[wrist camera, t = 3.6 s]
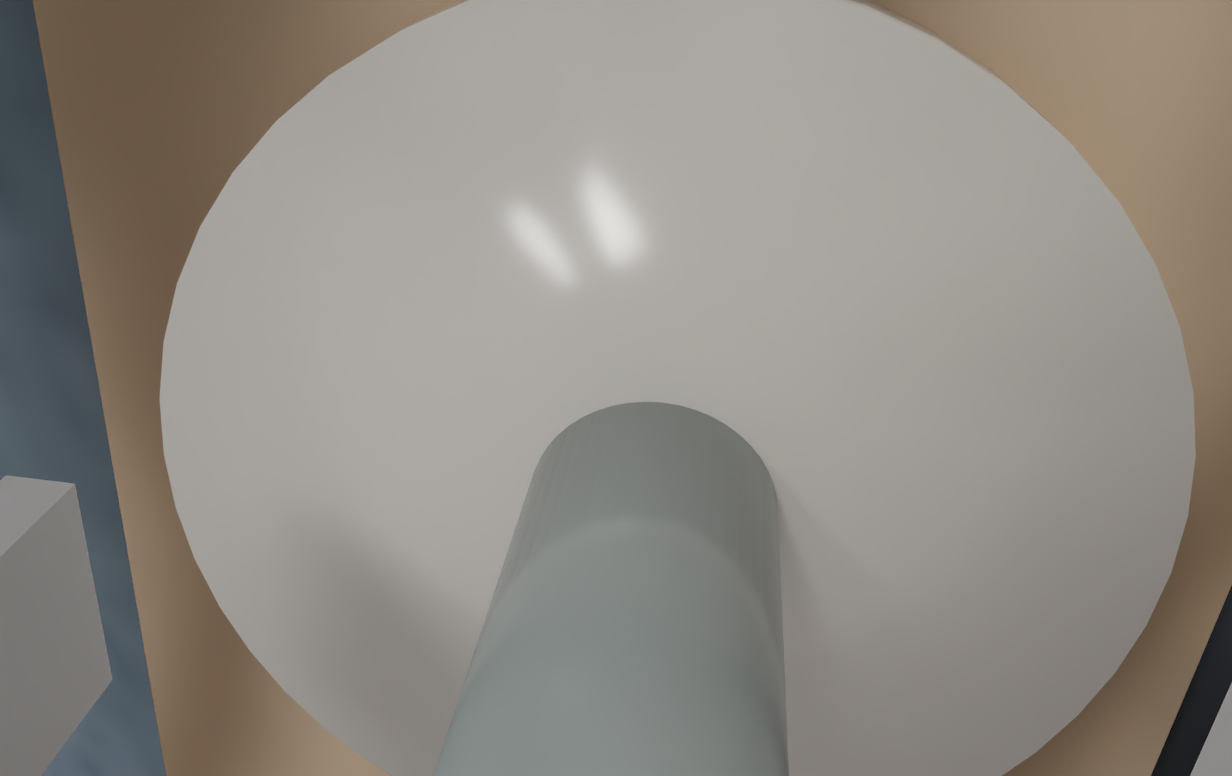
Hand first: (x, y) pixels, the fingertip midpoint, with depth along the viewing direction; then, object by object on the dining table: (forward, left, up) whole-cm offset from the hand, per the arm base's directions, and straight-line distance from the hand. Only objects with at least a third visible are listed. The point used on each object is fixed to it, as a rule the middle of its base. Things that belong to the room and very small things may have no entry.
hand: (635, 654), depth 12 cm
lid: (0, 0, -4) cm, 4 cm away
